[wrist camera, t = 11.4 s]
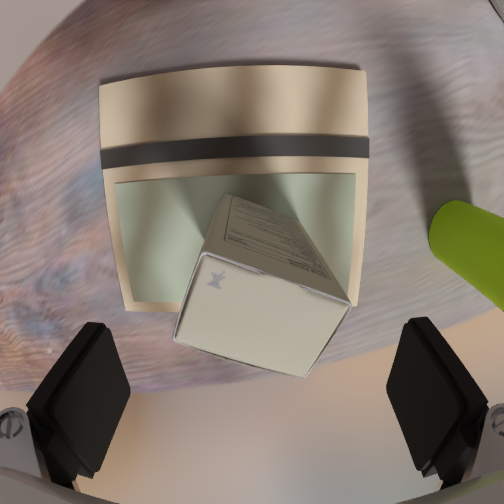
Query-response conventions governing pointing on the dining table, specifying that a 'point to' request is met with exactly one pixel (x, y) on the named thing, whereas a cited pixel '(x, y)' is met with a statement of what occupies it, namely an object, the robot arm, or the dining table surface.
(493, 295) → the soap dispenser
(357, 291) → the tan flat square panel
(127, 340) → the dining table surface
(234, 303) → the skincare box
